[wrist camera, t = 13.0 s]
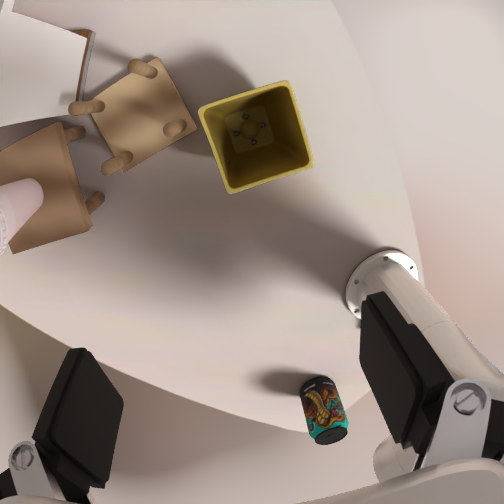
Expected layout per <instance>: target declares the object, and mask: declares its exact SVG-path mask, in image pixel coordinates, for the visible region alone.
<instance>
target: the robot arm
mask: <svg viewBox="0 0 504 504" xmlns="http://www.w3.org/2000/svg"><path fill="white" fill-rule="evenodd" d="M345 297H346V303H347V305H348V308H349V309H350V311H351V313H352V314H353V315H354V316H355V317H357V318H359V319H361V334H360V355H359V359H360V364H361V367H362V370H363V372H364V374H365V376H366V378H367V380H368V383H369V385H370V387H371V389H372V392H373V394H374V396H375V398H376V400H377V403H378V405H379V407H380V410H381V412H382V414H383V416H384V419H385V421H386V423H387V426H388V428H389V430H390V433H391V435H390V436H388V437H387V438H386V439H384V440H383V441H382V442H381V444H379V446H378V447H377V449H376V450H375V453H374V456H373V466H374V470H375V474H376V476H377V478H378V480H379V483H377V484H373V485H370V486H367V487H363V488H360V489H356V490H353V491H349V492H345V493H341V494H338V495H334V496H330V497H326V498H321V499H317V500H313V501H307V502H303V503H297V504H504V374H503V373H502V372H501V371H500V370H499V369H498V368H497V367H496V366H494V365H493V364H492V363H491V362H490V361H489V360H488V359H487V358H486V357H485V356H484V355H483V354H482V353H481V352H480V351H479V350H478V349H477V348H476V346H475V345H474V344H473V343H472V342H471V341H470V340H469V339H468V337H466V335H465V334H464V333H463V332H462V330H461V329H460V328H459V327H458V326H457V324H456V323H455V322H454V321H453V320H452V319H451V317H450V316H449V315H448V314H447V313H446V312H445V310H444V309H443V308H442V307H441V306H440V305H439V303H438V302H437V301H436V300H435V299H434V298H433V297H432V296H431V294H429V292H428V291H427V290H426V289H425V288H424V287H423V286H422V285H421V283H420V282H419V281H418V272H417V268H416V265H415V263H414V262H413V261H412V260H411V258H410V257H408V256H407V255H406V254H404V253H402V252H400V251H396V250H387V251H382V252H379V253H376V254H374V255H372V256H370V257H369V258H367V259H366V260H365V261H363V262H362V263H361V264H360V265H359V266H358V267H357V268H356V269H355V271H354V272H353V274H352V275H351V277H350V279H349V281H348V284H347V287H346V294H345ZM123 406H124V405H123V399H122V397H121V396H120V394H119V393H118V392H117V390H116V389H115V388H114V386H113V385H112V383H111V382H110V381H109V379H108V378H107V376H106V375H105V373H104V372H103V370H102V369H101V367H100V366H99V364H98V363H97V361H96V360H95V358H94V356H93V355H92V353H91V352H89V351H87V349H85V348H73V349H70V350H69V351H68V352H67V355H66V357H65V359H64V361H63V363H62V365H61V367H60V370H59V372H58V374H57V376H56V379H55V381H54V383H53V385H52V388H51V390H50V392H49V395H48V397H47V400H46V402H45V405H44V407H43V409H42V412H41V414H40V417H39V420H38V422H37V425H36V427H35V430H34V433H33V436H32V438H33V439H34V440H35V441H36V442H35V445H34V444H33V443H31V442H29V441H23V442H20V443H18V444H17V445H16V446H14V448H13V449H12V450H11V453H10V455H9V467H10V468H8V469H7V470H5V471H4V472H3V473H1V474H0V504H97V503H96V501H95V500H94V498H93V496H92V494H91V493H90V491H89V488H90V486H92V487H95V488H103V489H104V488H105V483H106V482H107V481H108V480H109V475H110V470H111V464H112V459H113V454H114V449H115V443H116V439H117V433H118V429H119V424H120V420H121V415H122V411H123Z"/></svg>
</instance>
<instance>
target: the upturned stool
mask: <svg viewBox="0 0 504 504" xmlns="http://www.w3.org/2000/svg"><path fill="white" fill-rule="evenodd" d="M128 70H129V71H130V72H131V73H130V74H128V75H127V76H125V77H124V78H122V79H120V80H119V81H117V82H116V83H114V84H113V85H111V86H110V87H109V88H107V89H106V90H104V91H103V92H101V93H100V94H98V95H97V96H96V97H94V98H93V99H92V100H90V101H77V102H72V103H70V105H69V107H68V112H69V114H70V115H73V116H74V115H81V114H89V113H91V115H92V117H93V119H94V121H95V122H96V124H97V126H98V128H99V130H100V131H101V133H102V135H103V137H104V139H105V140H106V142H107V144H108V146H109V148H110V149H111V151H112V153H113V155H114V156H115V157H114V158H112V159H110V160H108V161H106V162H104V163H103V164H102V166H101V172H102V173H103V174H104V175H106V176H109V175H111V174H113V173H114V172H116V171H117V170H119V169H120V168H122V170H123V172H126V171H127V170H129V169H130V168H132V167H134V166H135V165H137V164H138V163H140V162H142V161H143V160H145V159H147V158H148V157H150V156H152V155H153V154H155V153H157V152H158V151H160V150H162V149H163V148H165V147H167V146H169V145H170V144H172V143H174V142H176V141H178V140H179V139H181V138H183V137H185V136H187V135H188V134H190V133H192V132H194V131H196V130H198V127H197V125H196V124H195V122H194V120H193V118H192V116H191V114H190V113H189V111H188V109H187V107H186V105H185V103H184V101H183V100H182V98H181V96H180V94H179V92H178V90H177V89H176V87H175V85H174V83H173V81H172V80H171V78H170V76H169V74H168V72H167V70H166V69H165V67H164V65H163V63H162V61H161V59H160V58H158V57H157V58H155V59H153V60H151V61H150V62H148V63H145V62H143V61H141V60H139V59H133V60H132V61H130V63H129V64H128Z"/></svg>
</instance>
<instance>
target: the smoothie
mask: <svg viewBox="0 0 504 504" xmlns="http://www.w3.org/2000/svg"><path fill="white" fill-rule="evenodd" d="M42 203H43V190H42V187H41V185H40V184H39V183H38V182H37V181H36V180H35V179H32V178H27V179H23V180H19V181H16V182H12V183H9V184H5V185H2V186H0V255H2V254H3V252H4V251H5V249H6V247H7V243H8V242H9V241H10V240H11V238H12V237H13V236H14V235H15V234H16V233H17V231H18V230H19V229H20V228H21V227H22V226H23V225H24V224H25V223H26V221H27V220H28V219H29V218H30V217H31V216H32V215H33V214H34V213H35V212H36V211H37V210H38V209H39V208H40V206H41V205H42Z"/></svg>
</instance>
